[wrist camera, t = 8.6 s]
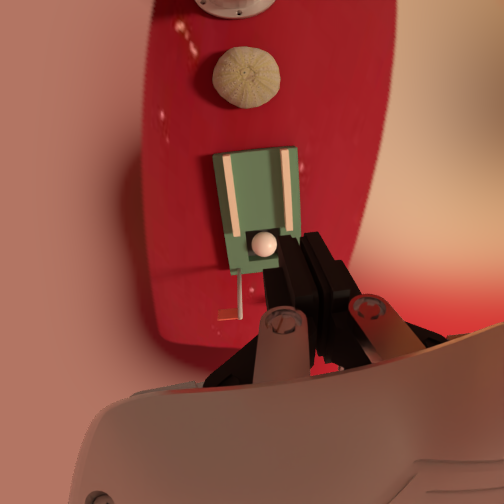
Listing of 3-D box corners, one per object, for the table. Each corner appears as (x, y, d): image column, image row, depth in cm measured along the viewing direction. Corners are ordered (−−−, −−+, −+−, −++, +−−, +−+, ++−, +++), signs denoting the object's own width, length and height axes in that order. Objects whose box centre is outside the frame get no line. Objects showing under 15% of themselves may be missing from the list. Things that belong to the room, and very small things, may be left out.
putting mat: (203, 155, 40) (188, 178, 27) (294, 145, 40) (320, 164, 27) (222, 269, 49) (219, 325, 37) (299, 261, 49) (318, 313, 37)
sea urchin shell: (238, 124, 36) (213, 88, 29) (220, 94, 38) (196, 61, 31) (295, 94, 34) (281, 53, 27) (271, 67, 37) (255, 30, 29)
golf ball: (253, 263, 45) (251, 242, 48) (278, 260, 45) (274, 240, 48) (251, 248, 42) (249, 228, 44) (278, 245, 42) (274, 225, 44)
